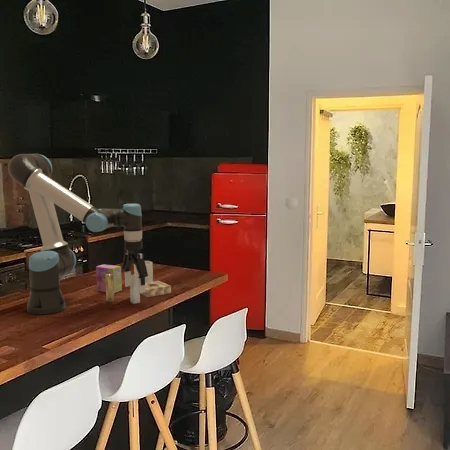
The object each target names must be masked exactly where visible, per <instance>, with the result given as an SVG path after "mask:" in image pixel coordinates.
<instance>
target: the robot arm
mask: <svg viewBox="0 0 450 450" xmlns="http://www.w3.org/2000/svg"><path fill="white" fill-rule="evenodd" d="M7 170H8V174H9V176H10V177H11V178H12V180H14V182H15V183H17V184H18V185H20V186H22V187H23V189H25V190H26V191H28V193H29V197H30V198H29V199H30V201H31V204H32V209H33V211H34V216H35V220H36V223H37V227H38V230H39V234H40V239H41V242H42V247H41V248H40V251H39V252H38V251H37V252H35V253H32V254H31V255H30V256H29V258H28V270H29V271H28V273H29V275H28V276H29V287H30V293H29V297H28V300H27V303H26V312H27V313H28V314H32V315H49V314H56V313H59V312H61V311H64V310H65V309H66V308H67V307H66V301H65V298H64V295H63V292H62V291H61V278H63V277H64V276H67V275H69V274H70V273H71V272H72V271H73V270H74V269H75V267H76V264H77V257H76V254H75V252H74V251H73V250H72V249H71V248H70V246H69V243H68V242H67V241H65V240H64V237H63V234H62V230H61V227H60V223H59V219H58V215H57V212H56V211H57V210H56V207H55V205H56V206H57V207H59V208H60V209H63V210H64V211H65V212H66V213H68V214H69V215H72V216H73V217H75V218H76V219H77V220H79V221H81V222H82V223H84V224H85V226H86V228H87V229H88V231H90V232H92V233H98V232H103V231H104V230H106V229H109V228H111V227H123V237H124V251H123V259H122V264H121V265H122V266H121V270H123V272H124V287H126V288H127V287H130V275H132V265H134V264H135V266H136V269H137V271H138V274H139V277H138V280H139V293H144V292H146V291H145V277H147V276H148V273H147V269H146V265H145V261H146V260H145V253H140V251H141V250H142V249H143V248H144V247H143V222H142V220H143V218H142V217H143V214H142V206H141V205H140V203H126V204H125V203H124V204H123V205H122V208H105V207H104V208H97V207H95V206H93V205H92V204H91V203H89V202H87V201H86V200H85V199H83V198H81V197H80V196H78V195H77V194H75V193H74V192H72V191H71V190H69V189H68V188H67V187H64V186H63V185H61V184H60V183H58V182H57V181H55V180H54V179H52V178H51V175H52V173H53V165H52V162H51V160H50V159H49V158H47V157H46V156H45V155H42V154H41V153H40V154H39V153H19V154H17V155H14V156H13V157H12V158H11V159H10V161H9V162H8V166H7Z"/></svg>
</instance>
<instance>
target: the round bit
mask: <svg viewBox="0 0 450 450" xmlns="http://www.w3.org/2000/svg"><path fill="white" fill-rule="evenodd" d="M105 294H106V295H105V296H106V303H114V302H115V293H114V284H113V274H106V292H105Z"/></svg>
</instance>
